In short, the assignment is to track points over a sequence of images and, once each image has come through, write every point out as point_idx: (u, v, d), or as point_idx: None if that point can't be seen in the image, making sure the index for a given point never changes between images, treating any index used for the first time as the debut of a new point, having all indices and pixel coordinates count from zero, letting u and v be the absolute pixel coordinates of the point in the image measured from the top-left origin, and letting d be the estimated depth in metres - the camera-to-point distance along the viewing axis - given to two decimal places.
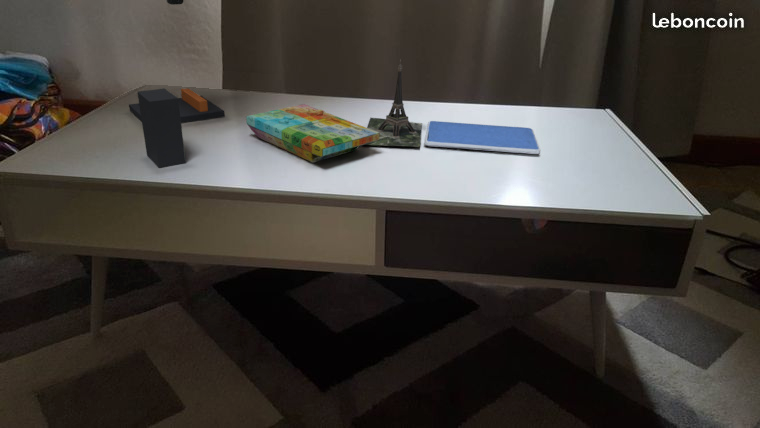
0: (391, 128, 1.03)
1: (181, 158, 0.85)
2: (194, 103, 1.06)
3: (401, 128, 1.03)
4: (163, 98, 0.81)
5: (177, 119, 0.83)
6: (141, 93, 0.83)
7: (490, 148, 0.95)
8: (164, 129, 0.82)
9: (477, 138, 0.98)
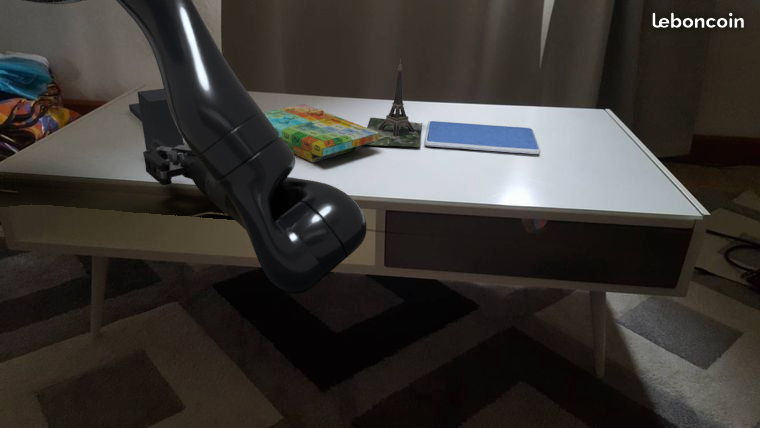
0: (391, 128, 1.03)
1: None
2: None
3: (401, 128, 1.03)
4: (163, 98, 0.81)
5: None
6: (141, 93, 0.83)
7: (490, 148, 0.95)
8: (164, 129, 0.82)
9: (477, 138, 0.98)
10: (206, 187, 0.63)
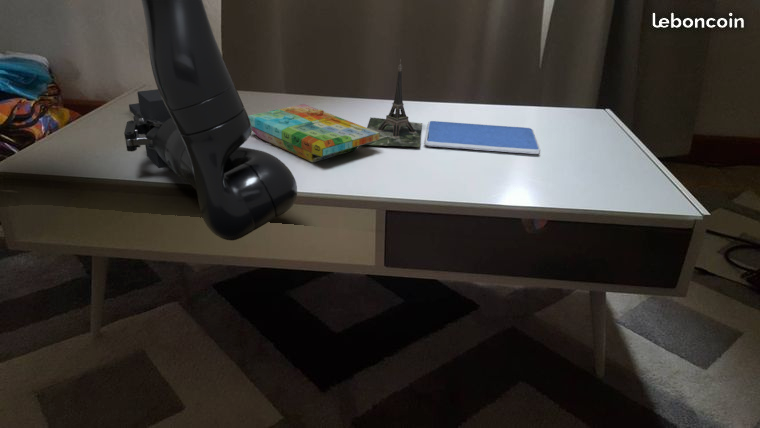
0: (391, 128, 1.03)
1: None
2: None
3: (401, 128, 1.03)
4: None
5: None
6: (141, 93, 0.83)
7: (490, 148, 0.95)
8: None
9: (477, 138, 0.98)
10: (166, 155, 0.72)
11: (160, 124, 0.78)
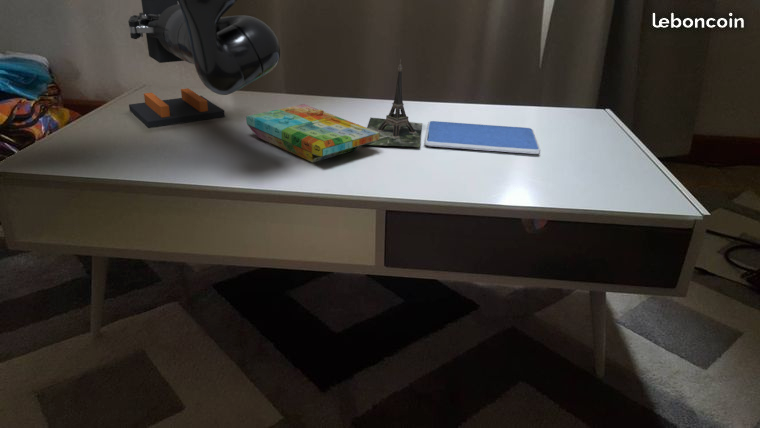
0: (391, 128, 1.03)
1: None
2: (194, 103, 1.06)
3: (401, 128, 1.03)
4: None
5: None
6: None
7: (490, 148, 0.95)
8: None
9: (477, 138, 0.98)
10: (165, 36, 0.81)
11: None
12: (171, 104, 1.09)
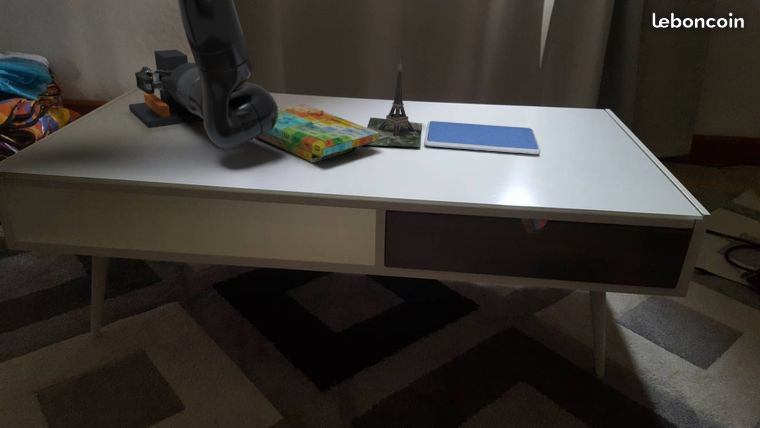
0: (391, 128, 1.03)
1: None
2: None
3: (401, 128, 1.03)
4: (175, 55, 1.01)
5: None
6: (157, 52, 1.03)
7: (490, 148, 0.95)
8: None
9: (477, 138, 0.98)
10: (177, 93, 0.92)
11: (172, 71, 0.97)
12: None
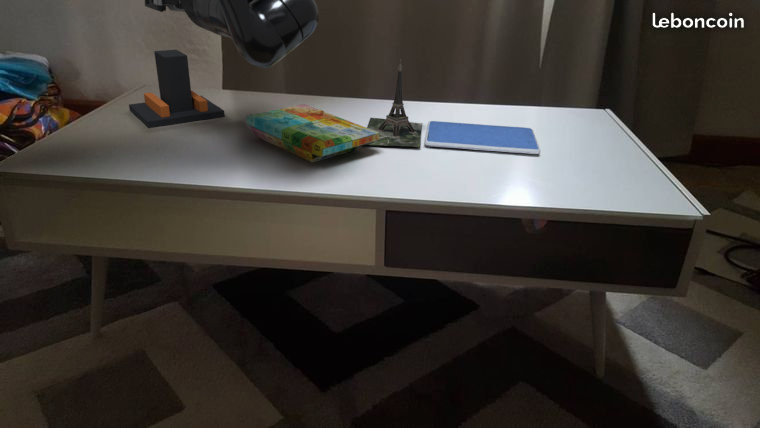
0: (391, 128, 1.03)
1: (189, 105, 1.05)
2: (194, 103, 1.06)
3: (401, 128, 1.03)
4: (175, 55, 1.01)
5: (186, 73, 1.03)
6: (157, 52, 1.03)
7: (490, 148, 0.95)
8: (176, 81, 1.02)
9: (477, 138, 0.98)
10: (194, 6, 0.77)
11: None
12: None
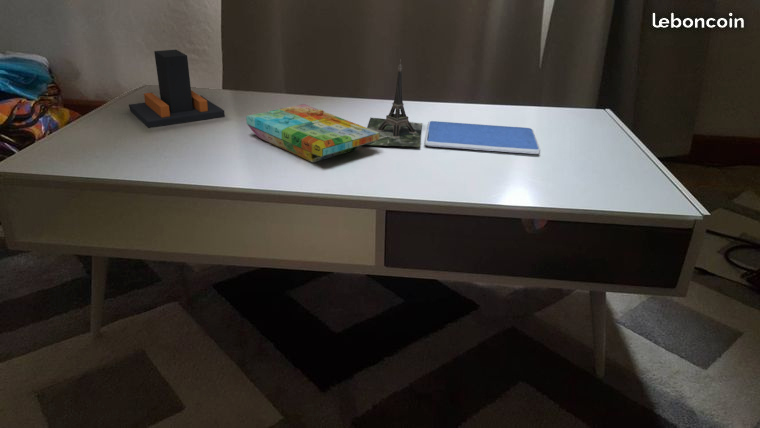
0: (391, 128, 1.03)
1: (189, 105, 1.05)
2: (194, 103, 1.06)
3: (401, 128, 1.03)
4: (175, 55, 1.01)
5: (186, 73, 1.03)
6: (157, 52, 1.03)
7: (490, 148, 0.95)
8: (176, 81, 1.02)
9: (477, 138, 0.98)
10: None
11: None
12: None
